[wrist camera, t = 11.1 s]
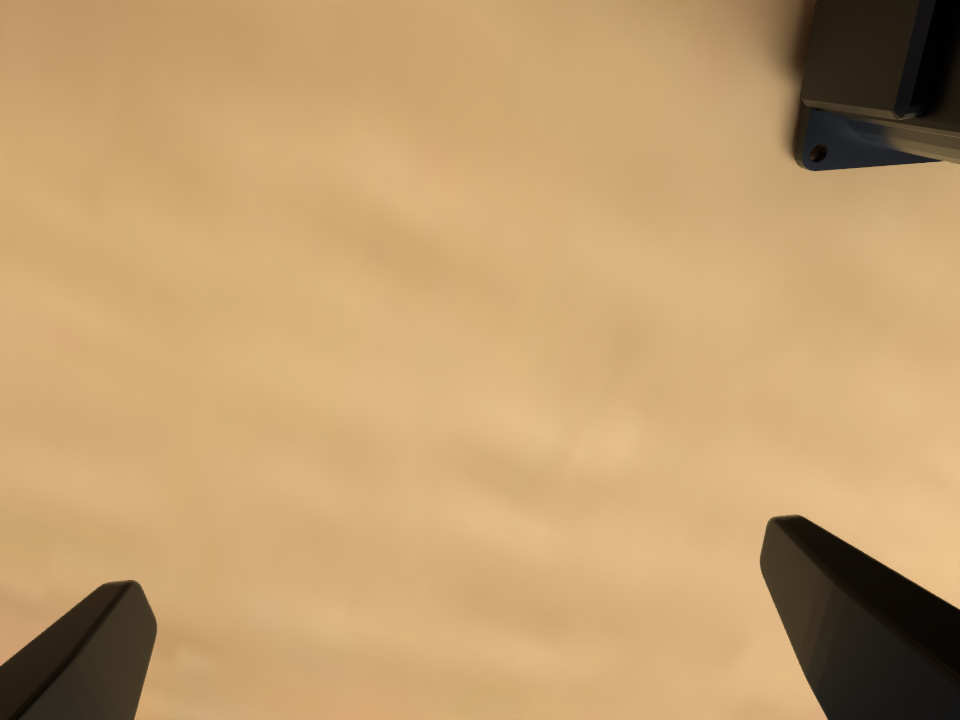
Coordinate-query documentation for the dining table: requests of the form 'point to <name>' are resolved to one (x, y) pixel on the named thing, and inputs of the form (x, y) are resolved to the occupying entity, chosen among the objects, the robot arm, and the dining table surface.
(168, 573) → the dining table surface
